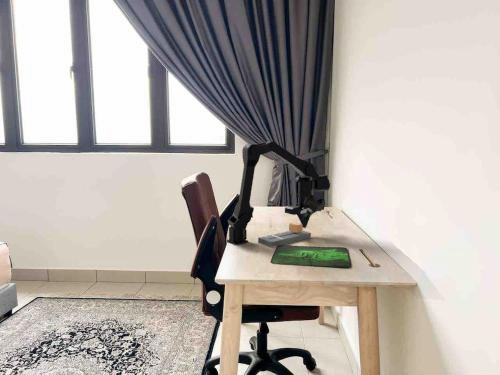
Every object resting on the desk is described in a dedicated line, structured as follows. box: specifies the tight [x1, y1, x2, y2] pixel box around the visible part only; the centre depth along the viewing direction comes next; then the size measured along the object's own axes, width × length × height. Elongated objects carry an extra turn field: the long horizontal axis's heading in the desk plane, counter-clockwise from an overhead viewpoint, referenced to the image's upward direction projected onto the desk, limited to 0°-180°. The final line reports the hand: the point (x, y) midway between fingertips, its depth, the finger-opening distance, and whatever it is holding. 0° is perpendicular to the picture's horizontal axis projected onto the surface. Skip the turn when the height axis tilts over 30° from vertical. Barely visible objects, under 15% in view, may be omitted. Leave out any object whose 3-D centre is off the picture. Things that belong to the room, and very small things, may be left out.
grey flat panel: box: [257, 230, 312, 248], centre depth 156 cm, size 22×8×2 cm, turn 128°
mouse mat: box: [269, 244, 352, 269], centre depth 136 cm, size 27×22×1 cm
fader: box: [288, 222, 304, 233], centre depth 159 cm, size 3×5×4 cm
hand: (304, 227), depth 162 cm, fingers closed
